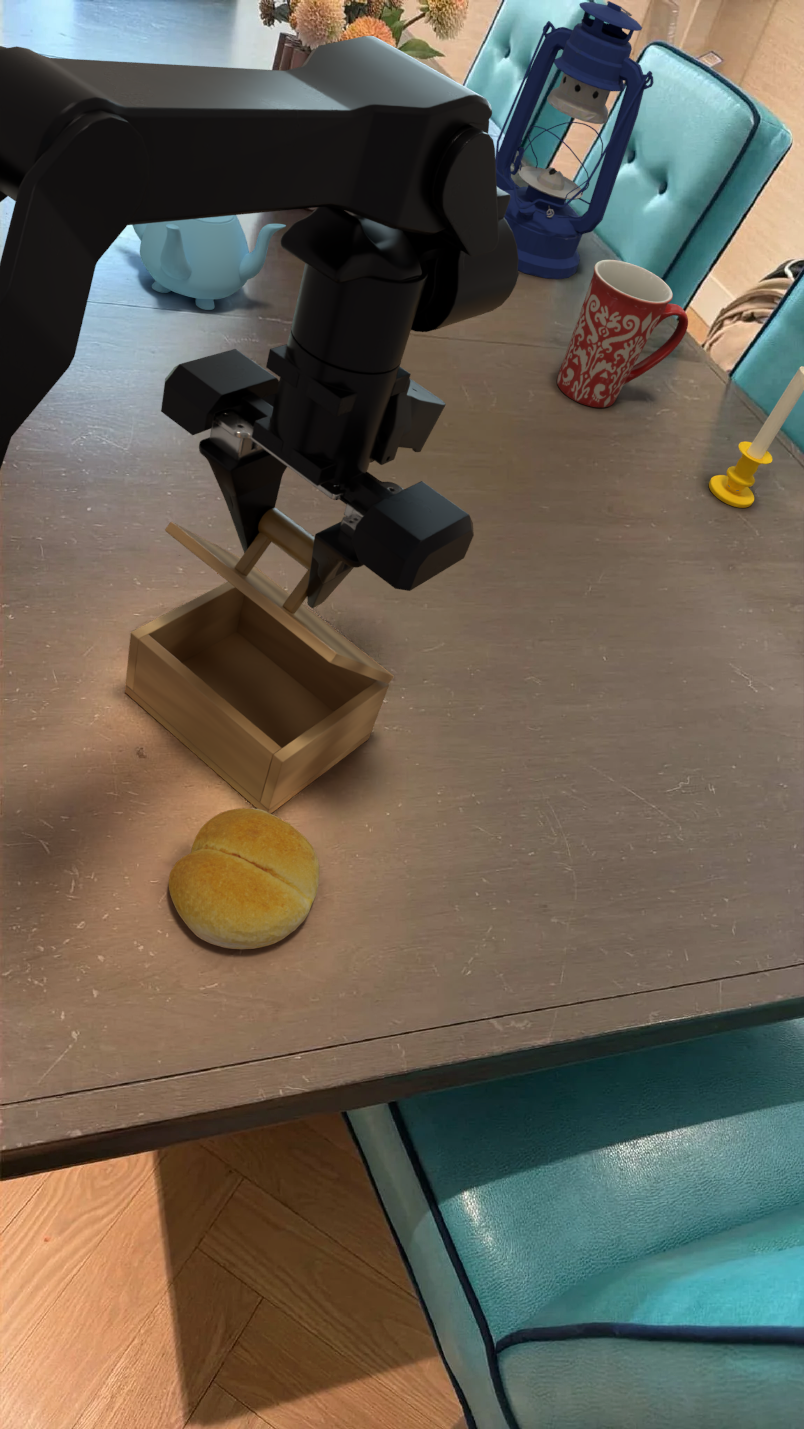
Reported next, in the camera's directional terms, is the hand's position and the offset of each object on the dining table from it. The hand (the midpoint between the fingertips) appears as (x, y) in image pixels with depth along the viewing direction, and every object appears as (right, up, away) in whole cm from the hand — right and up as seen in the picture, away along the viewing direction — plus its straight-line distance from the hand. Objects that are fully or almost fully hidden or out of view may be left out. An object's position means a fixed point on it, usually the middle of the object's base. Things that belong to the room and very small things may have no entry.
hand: (284, 580), depth 61 cm
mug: (+30, +29, +56) cm, 70 cm away
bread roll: (-3, -19, 0) cm, 19 cm away
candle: (+43, +16, +49) cm, 67 cm away
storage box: (-3, -8, +9) cm, 13 cm away
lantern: (+25, +57, +79) cm, 101 cm away
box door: (0, -2, +3) cm, 3 cm away
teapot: (-16, +38, +47) cm, 62 cm away
